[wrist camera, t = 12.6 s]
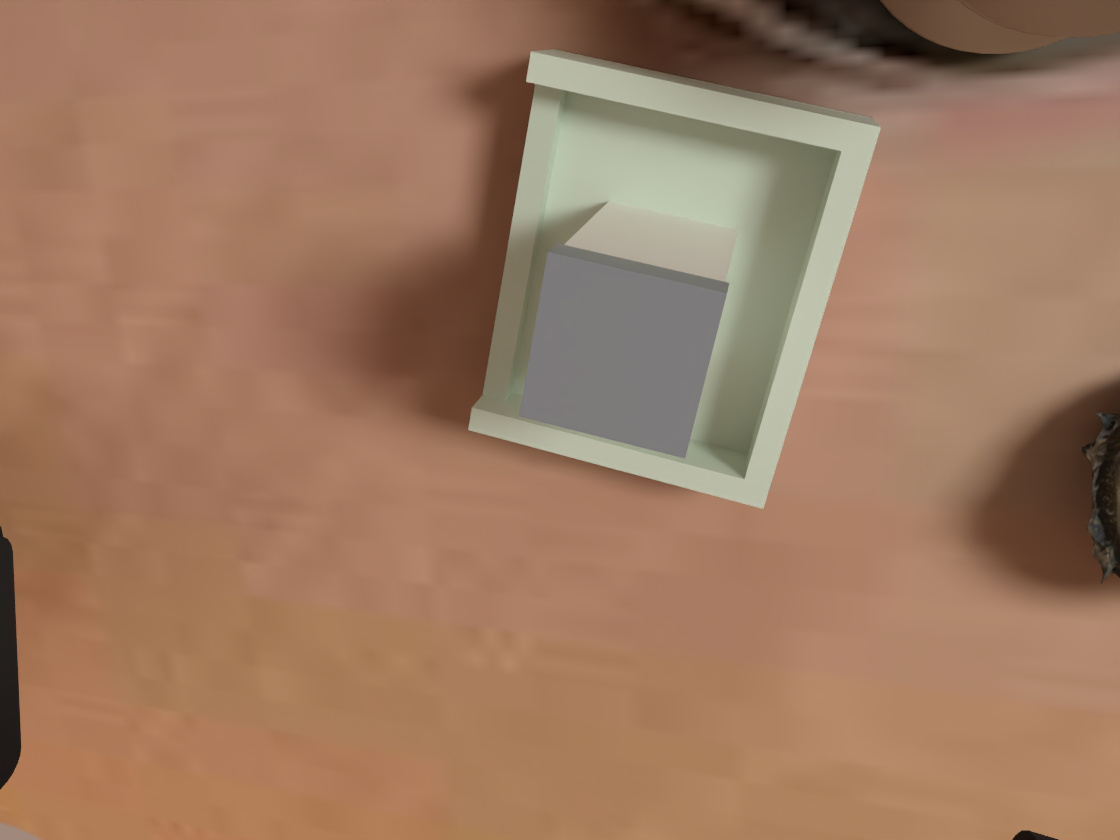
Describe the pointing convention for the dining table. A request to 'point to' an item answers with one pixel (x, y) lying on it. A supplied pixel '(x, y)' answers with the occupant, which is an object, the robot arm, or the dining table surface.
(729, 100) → the open tray
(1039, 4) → the knob
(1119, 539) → the pulley block
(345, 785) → the dining table surface
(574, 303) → the white grey rectangular block
